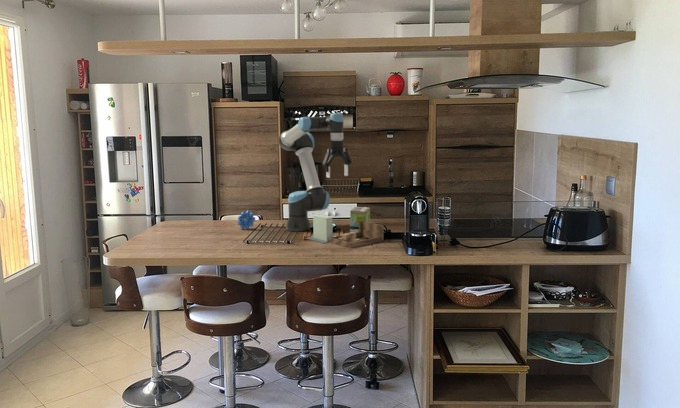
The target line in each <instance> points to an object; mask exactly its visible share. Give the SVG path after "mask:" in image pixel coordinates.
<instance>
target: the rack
mask: <svg viewBox="0 0 680 408" xmlns="http://www.w3.org/2000/svg"><path fill="white" fill-rule="evenodd" d="M340 237H341V238H342V235H338V236H333V237H332V238H329V242H328V243H331V244H334V245H337V246H341V247H345V248H347V249H353V248H357V247H362V246H366V245H370V244H376V243H379V242H380V243H381V242H384V224H378V223H374V222H371V221H370V222H366V221H359V232H357V233H356V238H360V237H363V238H367V239H362V240H360V241H357V242H352V243H349V242H345V241H341V240H338V238H340Z"/></svg>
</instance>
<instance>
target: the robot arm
mask: <svg viewBox="0 0 680 408" xmlns="http://www.w3.org/2000/svg"><path fill="white" fill-rule="evenodd" d="M317 130H319V131H320V130H321V131H322V130H327V131H328V130H329V131H330V136H329V137H330V148H326V151H325V152H326V153H325V155H324V157H323V158H324V159H323V160H322V166H324V167H325V170H324V171H325V173H326V174H325V177H326V178H327V179H330V178H331V166H330V165H331V163H332V162H333V160H334V159H335V158H336V157H340V158H341V160H342V161H343V163H344V165H343V167H344V168H343V169H344V170H343V171H344V172H343V174H344V177H348V176H349V170H350V165H351V164H352V159H351V157H350V155H349V152H348V151H349V150H348V148H347V147H344V114H343V113H339V112H338V113H335V112H334V113H330V116H327V115H326V116H302V117H299V120H298V122H297V124H296V125H294V126H293V127H292V128H290V129H288V130H285V131H283V132H282V133H280V134H279V136H278V140H277V141H278V145H279V146H280V148H281V149H283V150H285V151H288V152H289V151H291V152H292V151H294V153H295V155H296V156H297V157H298V159H299V163H300V166H301V170H302V174H303V175H302V176H303V177H304V182H305V185H306V190H297V191H293V192H291V193H289V195H288V199H287V203H288V219H287V223H286V227H285V229H286V231H288V232H297V233H298V232H308V231H310V230H311V229H310V228H311V223H310V221H309V218H308V212H317V211H320V212H321V211H323V210H327V209H328V208H329V206H330V199H331V198H330V194H329V192H328V191H326V190H325V189H324V187H323V186H321V183H320V179H319V177H318V171H317V169H316V168H317V167H316V165H315V162H314V158H313V154H312V152H313V150H314V148H315V139H314V136H313V134H312V133H310V131H317Z"/></svg>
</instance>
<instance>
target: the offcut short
mask: <svg viewBox="0 0 680 408" xmlns="http://www.w3.org/2000/svg"><path fill="white" fill-rule="evenodd" d="M341 236H342V240H350V239H354V238H357V237H356V233H355V232H350V231H349V232H346V233H342V234H341Z"/></svg>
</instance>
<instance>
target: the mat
mask: <svg viewBox="0 0 680 408" xmlns="http://www.w3.org/2000/svg"><path fill="white" fill-rule="evenodd" d="M305 239H306V240H310V241H314V242H317V243H321V244H327V243H330V242H329V241H324V240H321V239H317V238H314V236H310V237H306V238H305Z"/></svg>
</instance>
